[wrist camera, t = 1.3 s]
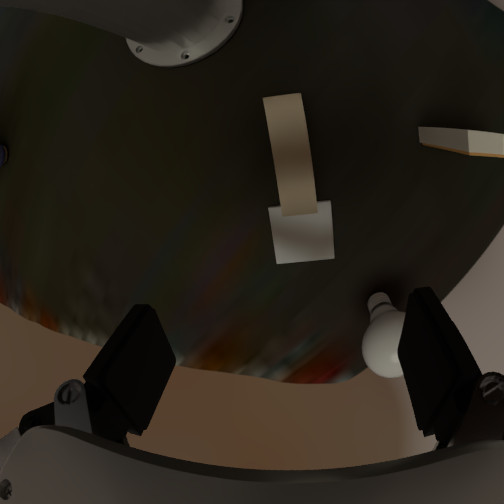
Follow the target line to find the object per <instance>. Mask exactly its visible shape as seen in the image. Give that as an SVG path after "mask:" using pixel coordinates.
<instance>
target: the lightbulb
mask: <svg viewBox="0 0 504 504" xmlns="http://www.w3.org/2000/svg"><path fill="white" fill-rule="evenodd" d="M367 306H368V309H369V312H370V315H371V317H370V325H369V326H368V328H367V330H366V332H365V334H364V337H363V341H362V354H363V358H364V361H365V363H366V364H367V366H368V367H369V368H370V369H371V370H372V371H373V372H374V373H376V374H377V375H380V376H382V377H387V378H395V377H400V376H403V371H402V368H401V365H400V362H399V359H398V354H397V349H398V345H399V340H400V336H401V332H402V328H403V323H404V318H405V314H406V313H405V312H401V311H398V310H397V309H396V308H395V307H393V306H392V304H391V301H390V299H389V297H388V295H387V294H385V293H382V292H379V293H375V294H373V295H372V296H371V297H370V298H369V300H368V302H367Z"/></svg>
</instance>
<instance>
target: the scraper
mask: <svg viewBox="0 0 504 504" xmlns="http://www.w3.org/2000/svg"><path fill="white" fill-rule="evenodd" d="M263 102H264V108H265V113H266V119H267V124H268V130H269V136H270V141H271V147H272V153H273V159H274V166H275V172H276V178H277V185H278V191H279V198H280V204H281V205H278V206H269V207H268V210H269V216H270V222H271V229H272V235H273V242H274V248H275V255H276V262H277V264H281V263H292V262H303V261H313V260H323V259H333V258H334V241H333V226H332V213H331V202H330V200H325V201H317V200H316V191H315V183H314V174H313V167H312V159H311V152H310V145H309V139H308V132H307V126H306V120H305V114H304V108H303V102H302V97H301V93H296V94H287V95H280V96H273V97H266V98H263Z"/></svg>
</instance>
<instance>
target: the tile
mask: <svg viewBox="0 0 504 504" xmlns="http://www.w3.org/2000/svg"><path fill="white" fill-rule="evenodd" d="M418 129H419V139H420V143H422V145H425V146H430V147H435V148H440V149H445V150H450V151H454V152H458V153H463V154H467V155H475V156H491V157H503V158H504V134H498V133H491V132H484V131H475V130H465V129H453V128H437V127H418Z"/></svg>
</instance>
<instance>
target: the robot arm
mask: <svg viewBox="0 0 504 504" xmlns="http://www.w3.org/2000/svg"><path fill="white" fill-rule="evenodd" d="M0 6H8V7H17V8H24V9H30V10H36V11H40V12H45V13H50V14H54V15H58V16H62V17H66V18H69V19H73V20H76V21H80V22H83V23H86V24H89V25H92V26H95V27H98V28H101V29H104V30H107V31H109V32H112V33H115V34H117V35H120V36H123V37H125V38H126V41H127V44H128V46H129V48H130V50H131V51H132V53H133V54H134V55H135V56H136V57H137V58H139V59H140V60H142V61H143V62H146V63H148V64H151V65H155V66H158V67H168V68H171V67H181V66H185V65H189V64H192V63H195V62H197V61H200V60H202V59H204V58H206V57H208V56H209V55H211V54H213V53H214V52H216V51H217V50H218V49H219V48H221V47H222V46H223V45H224V44H225V43H226V42H227V41H228V40H229V39H230V38H231V37H232V35H233V34H234V32H235V31H236V29H237V28H238V26H239V23H240V21H241V18H242V14H243V0H0ZM230 21H233V22H232V23H229V22H230ZM187 56H189V58H188V59H186V58H187ZM397 354H398V359H399V362H400V365H401V368H402V371H403V375H404V378H405V381H406V385H407V388H408V392H409V395H410V399H411V402H412V406H413V410H414V414H415V418H416V422H417V426H418V429H419V430H423V434H424V437H426V436H430V435H433V434H435V437H436V440H437V443H436V445H435V447H434V448H433V450H432V451H430V452H427V453H423V454H419V455H415V456H411V457H407V458H401V459H397V460H392V461H386V462H380V463H375V464H368V465H361V466H355V467H346V468H335V469H321V470H289V471H288V470H256V469H243V468H233V467H232V468H231V467H224V466H216V465H208V464H203V463H197V462H191V461H186V460H180V459H176V458H171V457H167V456H162V455H158V454H154V453H150V452H146V451H143V450H139V449H136V448H133V447H130V446H129V443H128V440H127V437H126V434H127V432H129V433H131V434H135V435H139V436H141V435H142V433H143V430H146V429H147V427H148V425H149V423H150V420H151V418H152V416H153V414H154V412H155V409H156V407H157V405H158V402H159V400H160V398H161V396H162V393H163V391H164V389H165V387H166V384H167V382H168V380H169V377H170V375H171V373H172V371H173V369H174V366H175V364H176V358H175V355H174V353H173V351H172V348H171V346H170V344H169V342H168V339H167V337H166V335H165V333H164V330H163V328H162V326H161V323H160V321H159V318H158V316H157V313H156V311H155V309H154V308H152V307H151V306H150V305H148V304H136V305H134V306H133V307H132V309H131V310H130V311H129V313H128V314H127V315H126V317H125V318H124V319H123V321H122V322H121V323H120V325H119V326H118V327H117V329H116V330H115V331H114V333H113V334H112V335H111V337H110V338H109V340H108V341H107V342H106V344H105V345H104V347H103V348H102V349H101V351H100V352H99V354H98V355H97V356H96V358H95V359H94V361H93V362H92V364H91V365H90V367H89V368H88V369H87V371H86V372H85V374H84V375H83V378H84V379H85V381H86V382H85V384H83V383H82V382H81V381H80V380H77V379H72V380H68V381H66V382H64V383H63V384H61V385H60V386H59V388H58V389H57V390H56V392H55V396H54V402H52V403H50V404H47V405H45V406H42V407H40V408H38V409H35V410H33V411H30V412H28V413H27V414H25V415H24V416H23V417H22V419H21V421H20V424H19V428H18V427H16V428H15V429H14V430H12V431H11V432H10V433H9V434H7V435H5V436H4V437H3V438H1V439H0V504H504V375H502V374H500V373H497V372H487V373H485V374H483V375H482V373H481V371H480V369H479V367H478V365H477V363H476V361H475V359H474V357H473V356H472V354H471V352H470V350H469V348H468V346H467V344H466V342H465V341H464V339H463V337H462V335H461V334H460V332H459V330H458V329H457V327H456V325H455V324H454V322H453V321H452V320H451V318H450V317H449V315H448V314H447V312H446V311H445V309H444V307H443V306H442V304H441V302H440V301H439V299H438V298H437V296H436V295H435V293H434V292H433V290H432V289H431V288H430V287H423V288H416V289H414V291H413V293H410V294H409V298H408V303H407V309H406V314H405V318H404V323H403V328H402V332H401V336H400V340H399V345H398V349H397Z"/></svg>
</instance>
